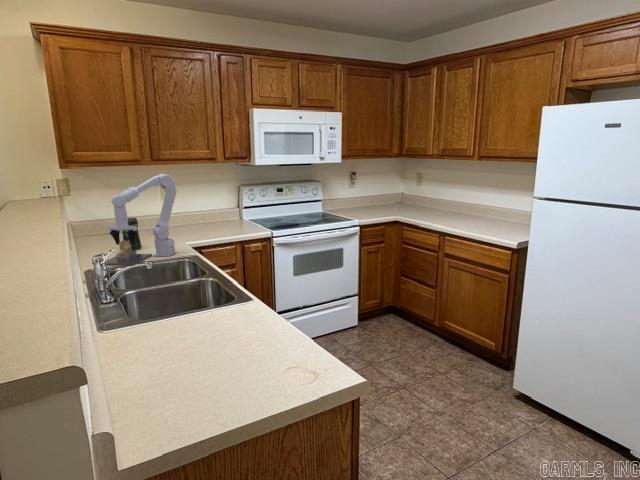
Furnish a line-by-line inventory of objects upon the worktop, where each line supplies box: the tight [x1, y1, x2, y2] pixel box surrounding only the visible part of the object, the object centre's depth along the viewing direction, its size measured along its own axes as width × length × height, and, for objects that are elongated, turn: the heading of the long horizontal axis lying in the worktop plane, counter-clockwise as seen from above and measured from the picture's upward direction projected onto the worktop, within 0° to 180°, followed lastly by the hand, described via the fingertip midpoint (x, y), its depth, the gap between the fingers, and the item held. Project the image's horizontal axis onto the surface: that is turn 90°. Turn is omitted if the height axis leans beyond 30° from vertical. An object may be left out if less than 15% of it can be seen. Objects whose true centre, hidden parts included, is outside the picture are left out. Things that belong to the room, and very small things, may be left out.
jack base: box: [105, 250, 153, 266], centre depth 215 cm, size 18×18×4 cm
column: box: [118, 240, 133, 254], centre depth 214 cm, size 4×4×6 cm
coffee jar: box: [121, 217, 143, 251], centre depth 238 cm, size 10×8×19 cm
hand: (125, 244), depth 214 cm, fingers open, 7 cm apart
